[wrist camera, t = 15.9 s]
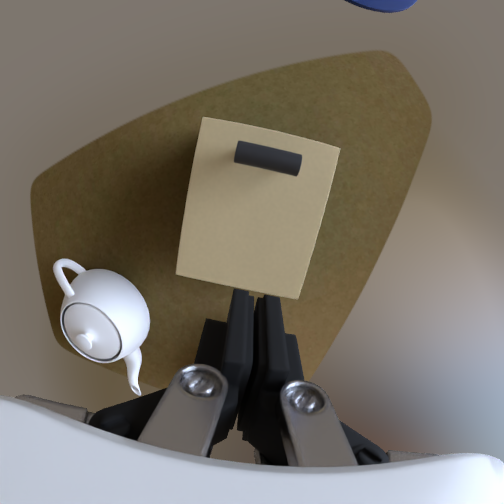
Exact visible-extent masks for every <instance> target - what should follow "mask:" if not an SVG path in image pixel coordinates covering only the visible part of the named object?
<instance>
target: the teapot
mask: <svg viewBox="0 0 504 504" xmlns="http://www.w3.org/2000/svg"><path fill="white" fill-rule="evenodd" d="M62 267H67V268H70V269H72V270H73V271H75V272H76V273H77V274H78V276H77V277H76V278H75V279H74V280H73V281H72V283H71V284H70V285H69V283H68V281H67V279H66V277H65V275H64V273H63V271H62ZM53 271H54V274H55V277H56V279H57V281H58V283H59V285H60V286H61V288H62V290H63V291H64V293H65V296H64V299H63V303H62V307H61V313H60V323H61V327H62V331H63V333H64V335H65V337H66V339H67V340H68V342H69V343H70V344H71V345H72V347H73V348H74V349H75V350H76V351H78V352H79V353H80V354H81V355H83V356H84V357H86V358H88V359H90V360H92V361H95V362H99V363H110V362H114V361H116V360H119V359H121V358H124V360H125V362H126V365H127V373H128V382H129V385H130V387H131V389H132V390H133V391H134V392H135V393H136V394H137V395H141V392H140V389H139V386H138V374H139V370H140V366H141V362H142V355H141V351H140V348H139V347H140V346H141V344H142V343H143V341H144V340H145V338H146V337H147V334H148V331H149V326H150V318H149V311H148V308H147V305H146V303H145V301H144V299H143V297H142V295H141V294H140V292H139V291H138V290H137V288H136V287H135V286H134V285H133V284H132V283H131V282H130V281H129V280H127V279H126V278H124V277H123V276H122V275H120V274H117V273H116V272H113V271H110V270H106V269H91V270H88V271H86V270H85V269H84V268H83V267H82V266H80V265H79V264H77V263H76V262H74V261H72V260H70V259H60V260H57V261H56V262H55V263H54V266H53Z"/></svg>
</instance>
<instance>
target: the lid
mask: <svg viewBox="0 0 504 504" xmlns="http://www.w3.org/2000/svg"><path fill="white" fill-rule="evenodd" d="M339 152H340V148H338V147H334V146H331V145H328V144H324V143H321V142H317V141H313V140H310V139H306V138H302V137H298V136H294V135H290V134H286V133H282V132H278V131H274V130H269V129H265V128H260V127H256V126H251V125H246V124H241V123H236V122H230V121H225V120H219V119H213V118H207V117H202V122H201V126H200V131H199V136H198V140H197V145H196V150H195V155H194V160H193V166H192V171H191V176H190V182H189V187H188V193H187V199H186V205H185V211H184V217H183V224H182V230H181V237H180V244H179V251H178V259H177V266H176V275H181V276H185V277H190V278H194V279H199V280H203V281H208V282H213V283H217V284H222V285H227V286H232V287H237V288H241V289H246V290H251V291H256V292H261V293H267V294H272V295H277V296H282V297H287V298H293V299H298V297H299V294H300V291H301V288H302V285H303V282H304V278H305V275H306V272H307V269H308V265H309V262H310V259H311V255H312V252H313V249H314V245H315V242H316V238H317V235H318V231H319V228H320V224H321V221H322V217H323V214H324V210H325V206H326V203H327V199H328V195H329V191H330V187H331V184H332V180H333V176H334V172H335V168H336V164H337V160H338V156H339Z"/></svg>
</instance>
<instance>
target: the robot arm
mask: <svg viewBox="0 0 504 504" xmlns="http://www.w3.org/2000/svg"><path fill="white" fill-rule="evenodd" d="M237 414H238V422H237V430H238V431H243V438H242V440H245V441H248V442H249V443H250V444H251V445H252V446H253V447H255V450H254V458H255V463H256V464H249V463H240V462H233V461H225V460H219V459H213V458H210V455H211V452H212V449H213V445H215V444H217V443H219V442H220V441H222V440H224V439H226V438H227V435H228V432H229V429H231V430H232V429H233V426H234V424H235V420H236V417H237ZM0 504H504V463H503V462H502V461H501V460H499V459H498V458H495V457H492V456H489V455H484V454H478V453H457V454H446V455H437V454H430V453H414V452H403V451H393V450H388V452H387V453H385V452H384V451H383V450H382V449H381V448H380V447H378V446H377V445H375V444H374V443H372V442H371V441H369V440H368V439H366V438H365V437H363V436H362V435H360V434H359V433H357V432H356V431H354V430H353V429H351V428H350V427H348V426H347V425H345V424H344V423H342V422H341V421H340V420H339V419H338V417H337V415H336V412H335V410H334V408H333V405H332V403H331V401H330V399H329V396H328V395H327V394H326V392H325V391H324V390H323V389H322V388H321V387H319V386H318V385H316V384H314V383H311V382H308V381H304V376H303V371H302V365H301V360H300V355H299V349H298V344H297V339H296V336H295V335H292V334H286V333H285V331H284V324H283V317H282V310H281V303H280V298H279V297H274V296H269V295H264V297H263V298H259V297H258V299H257V302H256V306H255V310H254V296H249V291H244V290H239V289H234V290H233V295H232V300H231V304H230V309H229V313H228V318H227V323H226V322H221V321H216V320H212V319H207V318H206V321H205V324H204V328H203V332H202V335H201V339H200V343H199V347H198V350H197V354H196V358H195V362H194V364H190V365H186V366H184V367H182V368H180V369H179V370H178V371H177V372H176V374H175V375H174V377H173V379H172V381H171V382H170V384H169V386H168V388H165V389H162V390H159V391H156V392H154V393H151V394H148V395H145V396H142V397H139V398H136V399H133V400H130V401H127V402H124V403H121V404H117V405H114V406H111V407H108V408H104V409H102V410H100V411H98V412H96V413H92V412H88V411H87V408H83V407H77V406H73V405H67V404H63V403H59V402H54V401H50V400H46V399H42V398H38V397H35V396H31V395H20V396H16V397H15V398H13V397H9V396H4V395H0Z"/></svg>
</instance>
